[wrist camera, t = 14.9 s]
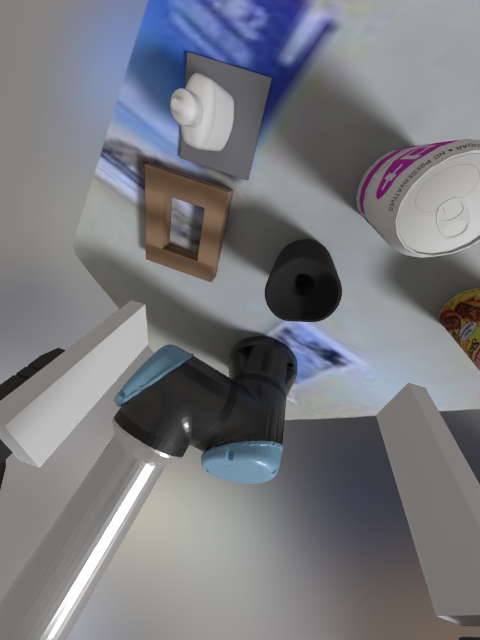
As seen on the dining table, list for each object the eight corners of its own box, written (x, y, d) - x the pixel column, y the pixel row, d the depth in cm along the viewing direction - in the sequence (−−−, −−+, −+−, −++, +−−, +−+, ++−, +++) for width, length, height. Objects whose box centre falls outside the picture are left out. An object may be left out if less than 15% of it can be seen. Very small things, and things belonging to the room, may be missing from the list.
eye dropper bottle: (247, 119, 27) (215, 98, 18) (216, 157, 30) (174, 156, 21) (224, 82, 26) (175, 38, 16) (193, 125, 29) (138, 109, 19)
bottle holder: (215, 276, 41) (211, 282, 39) (153, 254, 42) (146, 259, 40) (233, 190, 33) (228, 192, 31) (154, 163, 33) (144, 163, 31)
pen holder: (300, 222, 33) (298, 242, 25) (348, 261, 34) (359, 291, 26) (262, 269, 38) (251, 298, 31) (304, 301, 40) (303, 336, 32)
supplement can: (345, 179, 29) (371, 193, 17) (421, 129, 25) (526, 100, 13) (367, 235, 32) (403, 280, 20) (439, 198, 28) (538, 227, 16)
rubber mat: (248, 179, 31) (247, 180, 31) (181, 157, 32) (180, 157, 31) (271, 79, 25) (271, 77, 25) (189, 53, 26) (187, 51, 25)
